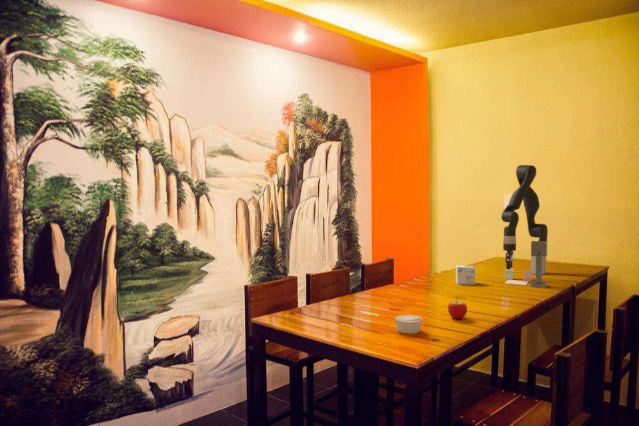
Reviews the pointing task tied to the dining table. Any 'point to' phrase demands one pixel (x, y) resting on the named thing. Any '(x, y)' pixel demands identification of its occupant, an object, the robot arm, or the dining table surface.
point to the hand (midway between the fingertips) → (509, 268)
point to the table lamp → (539, 261)
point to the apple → (457, 309)
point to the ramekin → (408, 324)
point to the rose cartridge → (527, 275)
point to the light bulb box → (465, 275)
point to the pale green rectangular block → (509, 274)
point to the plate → (516, 282)
